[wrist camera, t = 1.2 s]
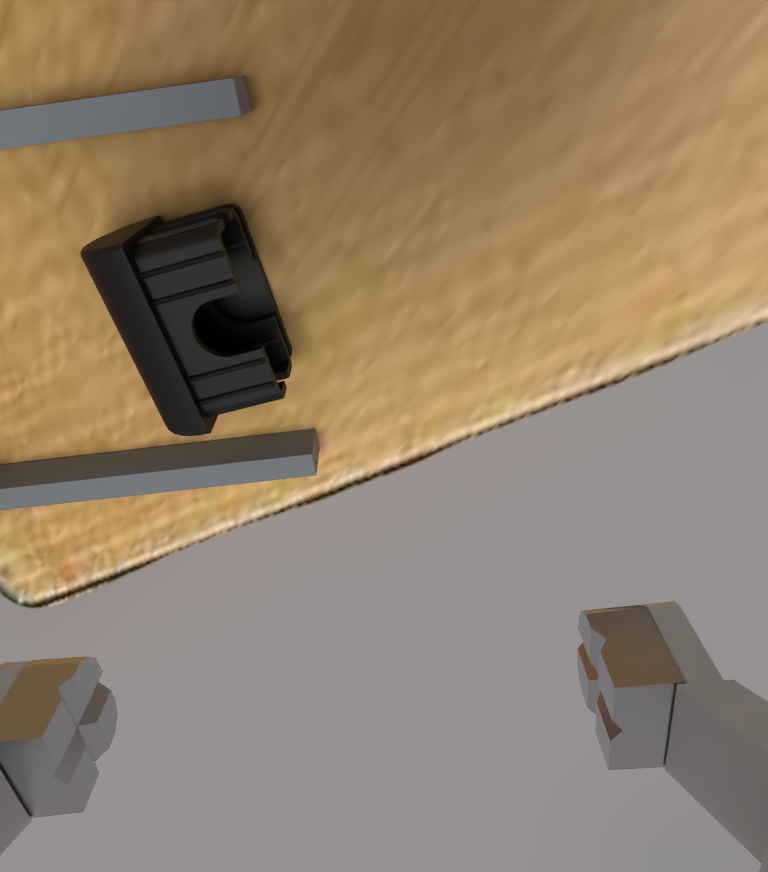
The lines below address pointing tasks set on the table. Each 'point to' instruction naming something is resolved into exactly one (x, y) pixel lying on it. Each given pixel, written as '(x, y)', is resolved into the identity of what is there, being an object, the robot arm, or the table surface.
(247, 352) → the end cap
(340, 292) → the table surface
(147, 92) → the u-shaped frame
